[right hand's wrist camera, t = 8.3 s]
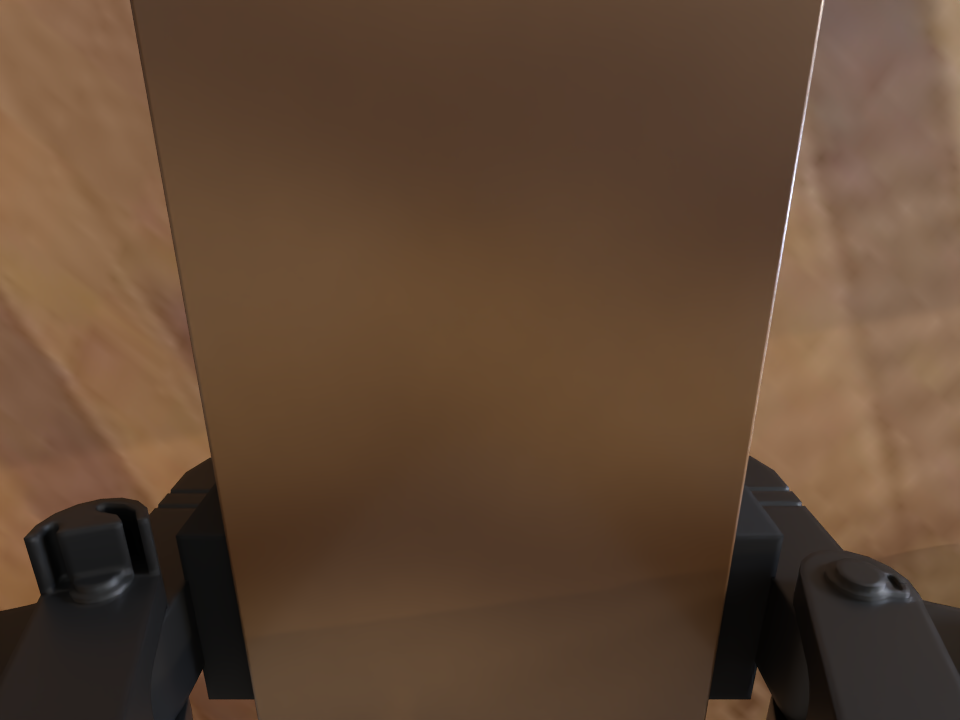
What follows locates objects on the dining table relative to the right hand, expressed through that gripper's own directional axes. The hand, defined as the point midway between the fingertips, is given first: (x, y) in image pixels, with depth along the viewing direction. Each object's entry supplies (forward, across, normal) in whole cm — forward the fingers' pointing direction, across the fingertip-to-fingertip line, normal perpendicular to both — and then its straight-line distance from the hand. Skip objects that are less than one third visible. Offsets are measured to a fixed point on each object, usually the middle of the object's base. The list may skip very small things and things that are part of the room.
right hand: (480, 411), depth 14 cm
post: (+1, 0, -34) cm, 34 cm away
